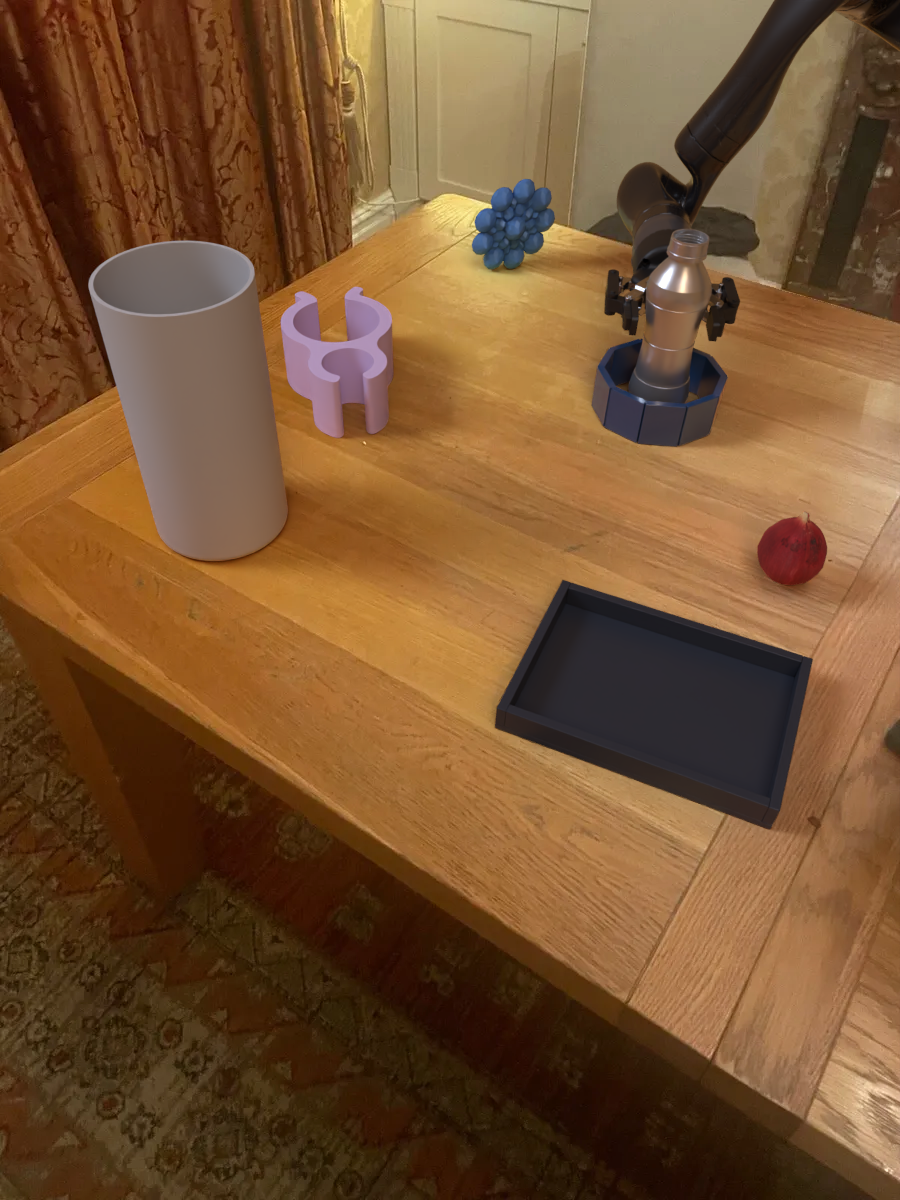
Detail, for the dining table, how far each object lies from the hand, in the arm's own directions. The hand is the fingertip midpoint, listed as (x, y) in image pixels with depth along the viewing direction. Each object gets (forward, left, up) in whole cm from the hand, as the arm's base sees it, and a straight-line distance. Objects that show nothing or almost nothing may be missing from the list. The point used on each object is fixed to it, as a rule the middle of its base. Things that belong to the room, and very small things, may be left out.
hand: (674, 330), depth 94 cm
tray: (-10, +39, -11) cm, 42 cm away
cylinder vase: (+34, +35, -11) cm, 50 cm away
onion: (-17, +20, -11) cm, 29 cm away
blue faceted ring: (+1, -2, -11) cm, 11 cm away
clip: (+35, +9, -11) cm, 38 cm away
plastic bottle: (+1, -2, -11) cm, 11 cm away
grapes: (+29, -28, -11) cm, 41 cm away
